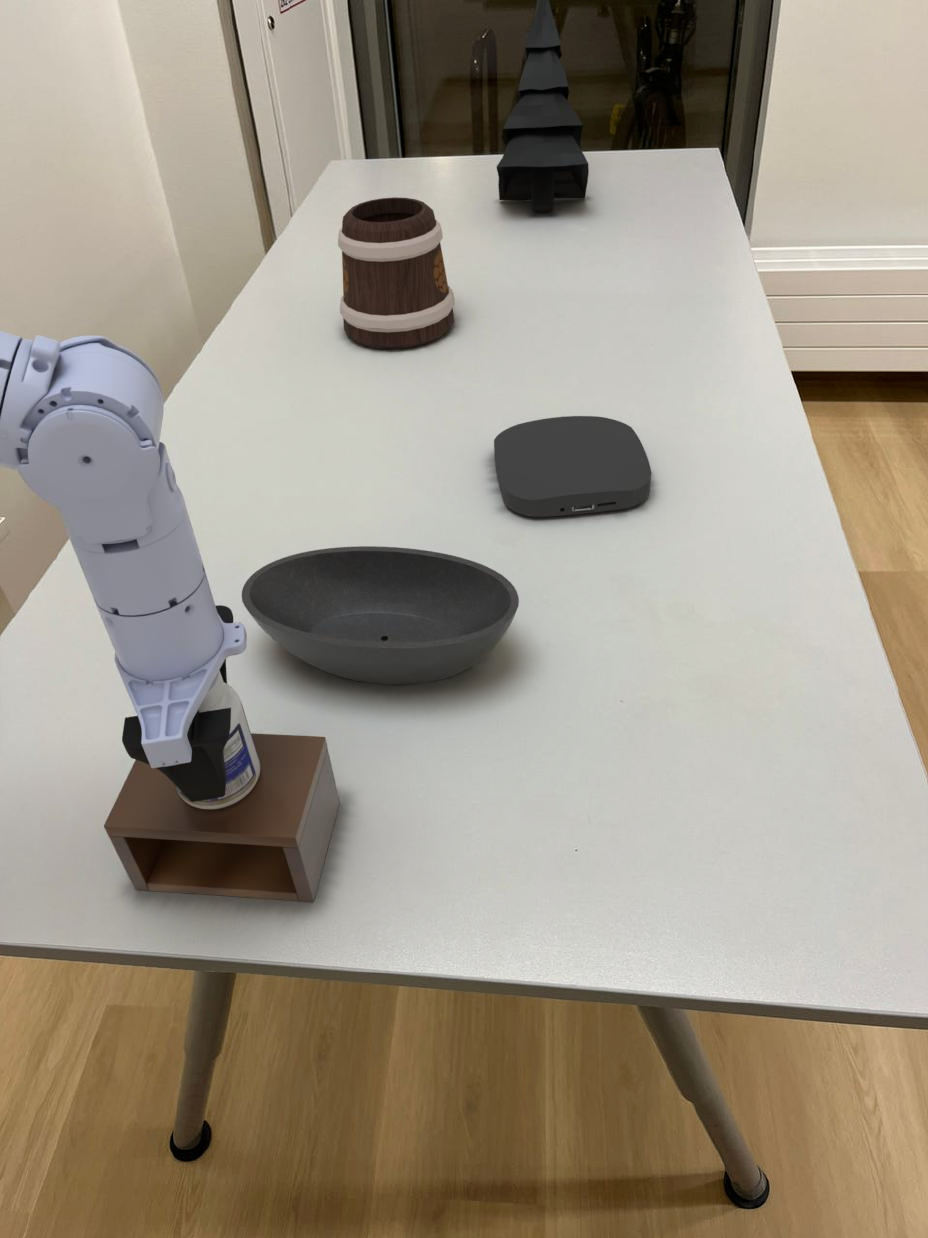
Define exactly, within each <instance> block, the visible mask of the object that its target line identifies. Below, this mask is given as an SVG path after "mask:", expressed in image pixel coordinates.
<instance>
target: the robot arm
mask: <svg viewBox="0 0 928 1238" xmlns="http://www.w3.org/2000/svg"><path fill="white" fill-rule="evenodd" d="M164 407H165V405H164V396H163V390H162V386H161V384H160V381H159V379H158V377H157V375H156V373H155V372H154V371H153V369H152V368H151V367H150V365H149V364H148V363H147V362H146V361H145V360H144V359H143V358H142V357H140V356H139V355H138V354H137V353H135V352H134V351H132V350H130V349H129V348H127V347H125V346H122V345H120V344H116V343H114V342H113V341H112V340H111V339H110V338H107V337H106V336H104V335H95V334H94V335H93V334H92V335H80V336H75V337H70V338H68V339H65V340H63V341H60V342H59V341H58V340H55V339H53V338H50V337H47V336H44V335H40V334H36V335H35V337H34V340H32V339H30V338H25V337H22V336H19V335H16V334H12V333H9V332H6V331H3V330H0V467H3V468H6V469H9V470H10V469H11V470H16V471H17V472H18V474H19V476H20V478H21V479H22V480H23V482H24V483H25V484H26V486H27V487H28V488H29V489H30V490H31V491H32V492H33V493H34V494H35V495H37V496H38V497H39V498H41V499H42V500H43V501H45V502H46V503H47V504H50V505H52V506H53V507H54V508H56V509H57V510H58V511H59V512H60V515H61V517H62V520H63V523H64V528H65V531H66V534H67V536H68V538H69V541H70V542H71V546H72V548H73V551H74V553H75V555H76V558H77V560H78V564H79V566H80V568H81V571H82V573H83V575H84V578H85V581H86V583H87V585H88V588H89V590H90V593H91V595H92V598H93V601H94V603H95V607H96V608H97V611H98V613H99V615H100V618H101V620H102V623H103V625H104V628H105V631H106V633H107V635H108V638H109V640H110V643H111V646H112V648H113V650H114V663H115V666H116V668H117V671H118V674H119V676H120V678H121V680H122V683H123V685H124V687H125V691H126V692H127V694H128V697H129V699H130V703H131V704H132V706H133V709H134V711H135V713H136V715H133V716H126V717H125V718H124V721H123V728H122V736H121V742H122V745H123V747H124V749H125V752H126V753H127V755H128V756H129V758H130V759H133V760H134V761H135V760H138V761H141V762H144V763H146V764H148V765H150V766H151V768H156V769H158V770H159V771H161V772H162V773H163V774H165V775H166V776H167V777H168V778H169V779H170V780H171V781H172V782H173V783H174V784H175V786H176V787H177V788H178V789H179V790H180V791H181V792H182V793H183V794H184V795H185V796H186V797H187V798H188V799H189V800H190V801H191V802H196V801H202V800H208V799H214V798H220V797H223V796H225V791H226V770H225V762H224V754H223V750H224V747H225V745H226V744H227V742H228V738H229V733H230V728H231V708H225V709H219V710H212V711H206V712H200V713H199V710H198V709H199V707H200V705H201V703H202V701H203V699H204V698H205V696H206V694H207V692H208V690H209V688H210V686H211V685H212V683H213V681H214V679H215V677H216V675H217V673H218V672H219V670H220V673H221V676H222V679H223V682H224V683H226V684H228V676H227V675H228V674H227V659H228V658H229V657H233V656H237V655H242V654H243V653H244V652H245V651H246V650H247V641H248V640H247V639H248V637H247V636H248V635H247V631H246V627H245V625H244V624H243V623H242V622H234V614H233V611H232V609H231V608H230V607H229V606H226V605H220V604H218V605H216V602H215V599H214V596H213V593H212V589H211V586H210V583H209V582H210V581H209V579H208V576H207V573H206V569H205V565H204V561H203V559H202V555H201V552H200V549H199V545H198V542H197V538H196V535H195V532H194V529H193V525H192V522H191V518H190V515H189V512H188V507H187V504H186V501H185V497H184V495H183V492H182V491H181V488H180V487H179V485H178V484H177V478H176V474H175V473H176V472H175V471H174V468H173V465H172V463H171V462H170V461H171V460H170V458H169V454H168V451H167V448H166V445H165V443H164V442H161V441H160V440H161V434H162V427H163V421H164V420H163V419H164V411H165V410H164V409H165V408H164Z"/></svg>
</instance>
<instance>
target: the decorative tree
mask: <svg viewBox="0 0 928 1238" xmlns="http://www.w3.org/2000/svg"><path fill="white" fill-rule="evenodd" d="M561 45H562V44H561V40H560V37H559V32H558V27H557V25H556V22H555V18H554V15H553V11H552V6H551V3H550V0H537V1H536V7H535V11H534V15H533V20H532V23H531V24H530V27H529V29H528V32H527V36H526V40H525V45H524V49H525V57H524V58H525V59H524V68H523V71H522V74H521V78H520V81H519V83H518V88H517V92H516V100H515V101H516V104H515V105H514V108H513V109H512V111H511V112H510V113H509V115H508V117H507V119H506V122H505V123H504V126H503V128H502V134H501V139H502V142H503V143H504V145H505V146H504V150H503V155H502V157H501V159H500V161H499V162H498V164H496V171H497V176H498V181H497V182H498V184H497V185H498V186H497V187H498V200H499V201H514V202H525V201H531V203H530V211H531V212H532V213H535V214H548V213H551V212H553V211H554V208H555V206H554V205H555V203H554V201H555V199H557V200H558V199H586V194H587V187H588V184H589V183H588V181H589V175H590V174H589V173H590V172H589V161H588V160H587V158H586V156H585V154H584V153H583V150H582V146H581V145H582V143H581V142H582V141H581V140H582V132H583V129H584V124H583V122H582V120H581V118H580V117H579V116H578V114H577V113H576V112H575V110H574V109H573V107H572V106H571V104H570V102H569V101H568V98H569V94H570V89H569V84H568V83H569V82H568V78H567V73H566V72H565V68H564V67H563V64H562V62H561V58H562V56H563V53H562V49H561Z"/></svg>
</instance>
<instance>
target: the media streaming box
mask: <svg viewBox="0 0 928 1238" xmlns="http://www.w3.org/2000/svg"><path fill="white" fill-rule="evenodd" d="M493 450H494V453H493V454H494V466H495V471H496V477H497V483H498V486H499V489H500V493H501V496H502V500H503V502H504V505H505V506H506V507H507V508H508V509H510V510H511V511H513V512H514V513H517V514H519V515H522V516H527V517H533V518H544V517H558V516H559V517H560V516H572V515H583V514H592V513H593V514H594V513H600V512H608V511H616V510H624V509H629V508H632V507H636V506H638V505H639V504H641V503H643V502H644V501H645V500H646V499H647V498H648V497H649V495H650V491H651V482H652V468H651V466H650V461H649V458H648V456H647V452H646V449H645V447H644V446H643V443H642V441H641V439H640V438H639V436H638V434H637V433H636V431H635V430H634V428H633V427H632V426H630V425H629V424H627V423H624V422H622V421H620V420H617V419H613V418H609V417H603V416H593V415H569V416H556V417H555V416H554V417H548V418H542V419H536V420H530V421H526V422H522V423H518V424H515V425H512V426H510V427H508V428H506V429H504V430H502V431H501V432H500V433H498V434H497V435H496V436H495V438H494V439H493Z"/></svg>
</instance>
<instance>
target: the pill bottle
mask: <svg viewBox="0 0 928 1238" xmlns="http://www.w3.org/2000/svg"><path fill="white" fill-rule="evenodd" d="M225 708H231V728H230V733H229V738H228V742H227V744H226V745H225V747H224V750H223V754H224V762H225V770H226V791H225V796H223V797H220V798H214V799H208V800H202V801H196V802H191V801H190V800H189V799H188V798H187V797H186V796H185V795H184V794H183V793H182V792H181V791H180V790H179V789H178V788H177V787H176V786H175V787H176V789H177V791H178V793H179V795H180V797H181V798H182V799H183V800H184V801H185V802H186V803H188V804H189V805H191V806H194V807H196V808H200V809H219V808H223V807H227V806H230V805H232V804H234V803H236V802H238V801H239V800H241V799H242V798H244V797H245V796H246V795H247V794H248V793H249V792H250V791H251V790H252V789H253V787H254V786H255V784H256V782H257V780H258V778H259V774H260V762H259V758H258V754H257V751H256V748H255V745H254V742H253V738H252V735H251V733H252V732H251V729H250V726H249V723H248V719H247V716H246V713H245V709H244V706H243V703H242V700H241V698H240V696H239V694H238V692H237V691H236V689H235V688H234V687H233V686H231V685H230V684H228V683H227V684H226V683H224V682H223V679H222V676H221V673H220V670H219V672H218V673H217V675H216V677H215V679H214V681H213V683H212V685H211V686H210V688H209V690H208V692H207V694H206V696H205V698H204V699H203V701H202V703H201V705H200V707H199V709H198V710H199V713H200V712H206V711H212V710H219V709H225Z"/></svg>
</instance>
